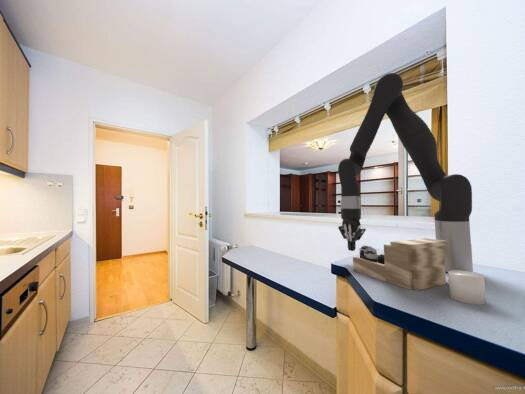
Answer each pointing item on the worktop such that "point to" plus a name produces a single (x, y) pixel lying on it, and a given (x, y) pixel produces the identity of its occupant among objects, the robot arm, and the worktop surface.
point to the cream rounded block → (467, 287)
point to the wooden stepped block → (408, 264)
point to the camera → (371, 254)
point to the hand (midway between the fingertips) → (351, 250)
